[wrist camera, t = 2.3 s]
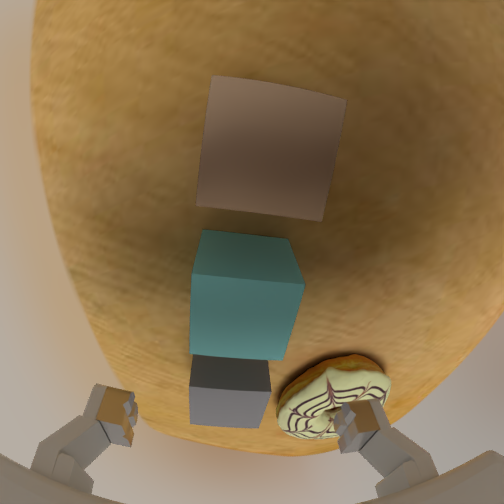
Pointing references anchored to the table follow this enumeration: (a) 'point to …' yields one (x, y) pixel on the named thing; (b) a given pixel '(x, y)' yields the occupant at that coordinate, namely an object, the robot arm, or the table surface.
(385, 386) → the decorated donut
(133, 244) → the table surface
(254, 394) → the charcoal cube
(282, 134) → the walnut cube
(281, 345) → the teal cube
